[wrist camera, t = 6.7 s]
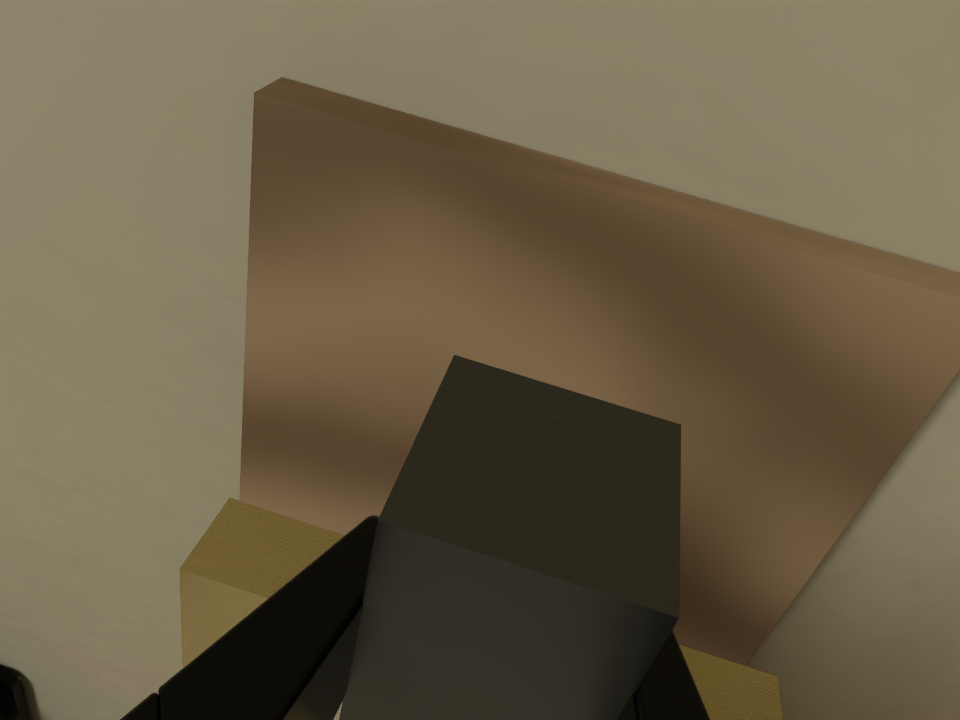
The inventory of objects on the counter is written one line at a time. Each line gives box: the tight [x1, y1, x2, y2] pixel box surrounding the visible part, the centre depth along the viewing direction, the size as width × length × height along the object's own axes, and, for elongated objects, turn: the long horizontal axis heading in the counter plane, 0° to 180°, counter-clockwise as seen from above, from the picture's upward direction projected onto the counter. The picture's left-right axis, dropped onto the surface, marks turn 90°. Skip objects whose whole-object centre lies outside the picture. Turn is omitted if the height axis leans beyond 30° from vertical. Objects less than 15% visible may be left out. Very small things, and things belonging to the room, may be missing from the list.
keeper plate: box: [240, 77, 960, 666], centre depth 18 cm, size 18×14×6 cm
